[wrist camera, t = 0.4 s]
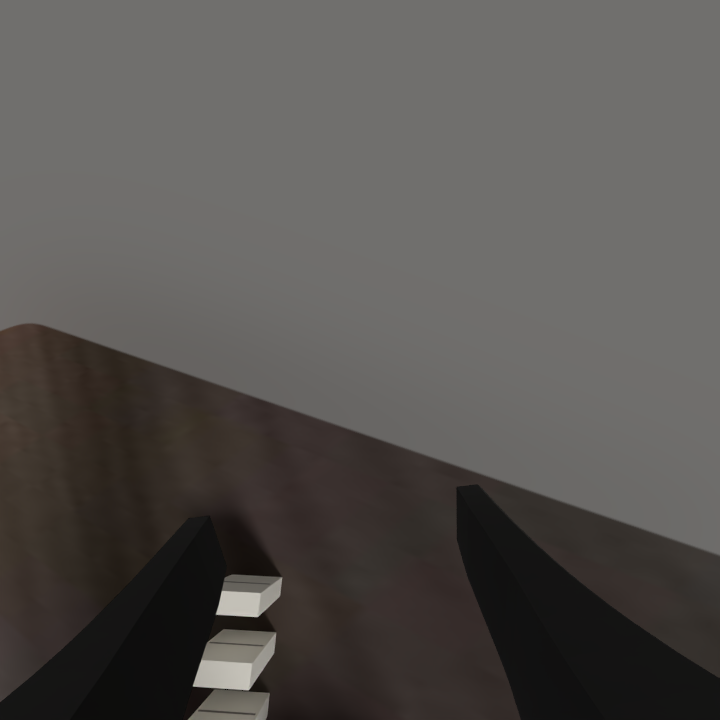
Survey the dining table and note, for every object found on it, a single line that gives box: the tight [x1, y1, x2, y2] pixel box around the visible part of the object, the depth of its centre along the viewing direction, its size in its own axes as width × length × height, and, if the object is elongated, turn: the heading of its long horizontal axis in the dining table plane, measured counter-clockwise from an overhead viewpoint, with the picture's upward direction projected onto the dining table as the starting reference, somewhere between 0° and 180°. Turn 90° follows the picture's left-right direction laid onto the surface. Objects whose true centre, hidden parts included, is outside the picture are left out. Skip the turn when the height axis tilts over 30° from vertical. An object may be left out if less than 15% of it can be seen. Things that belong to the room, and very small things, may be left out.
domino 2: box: [193, 629, 276, 690], centre depth 31 cm, size 2×5×8 cm, turn 88°
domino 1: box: [216, 574, 282, 617], centre depth 33 cm, size 2×5×8 cm, turn 88°
